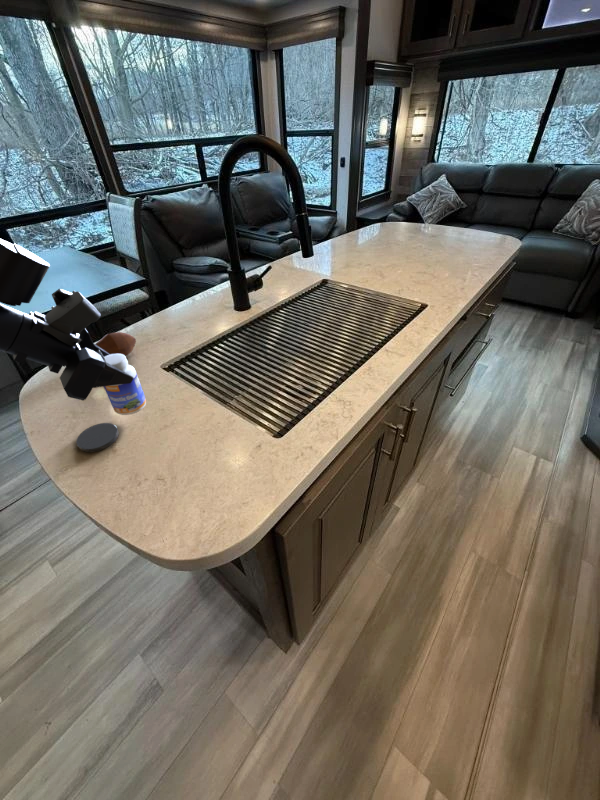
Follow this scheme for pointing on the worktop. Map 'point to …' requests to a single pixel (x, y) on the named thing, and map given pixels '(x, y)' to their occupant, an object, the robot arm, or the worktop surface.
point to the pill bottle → (125, 388)
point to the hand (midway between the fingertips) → (127, 372)
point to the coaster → (97, 437)
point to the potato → (117, 343)
